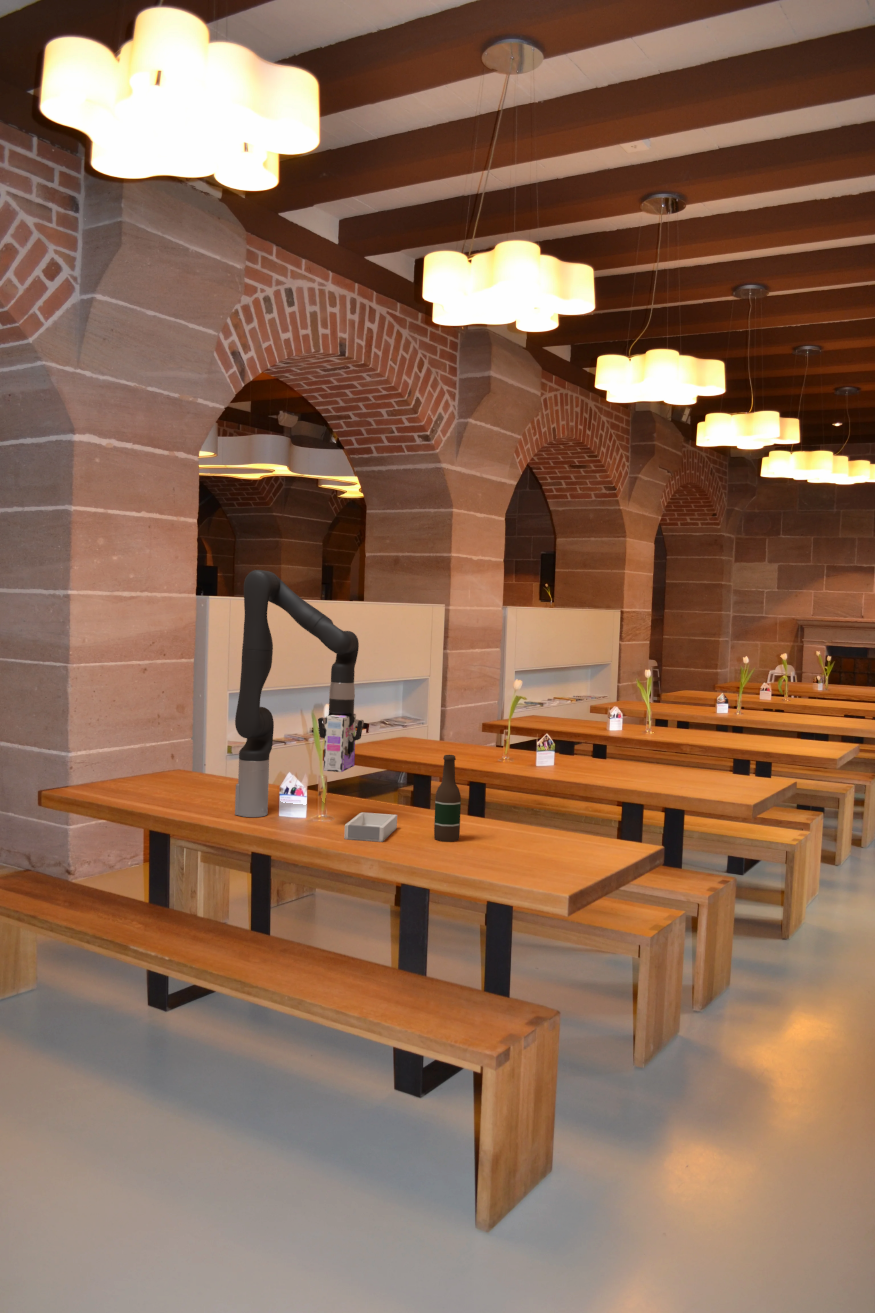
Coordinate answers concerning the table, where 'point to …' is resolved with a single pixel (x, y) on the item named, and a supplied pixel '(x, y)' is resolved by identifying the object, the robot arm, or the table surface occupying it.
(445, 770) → the beer bottle
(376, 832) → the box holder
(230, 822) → the table surface
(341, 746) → the candy box
